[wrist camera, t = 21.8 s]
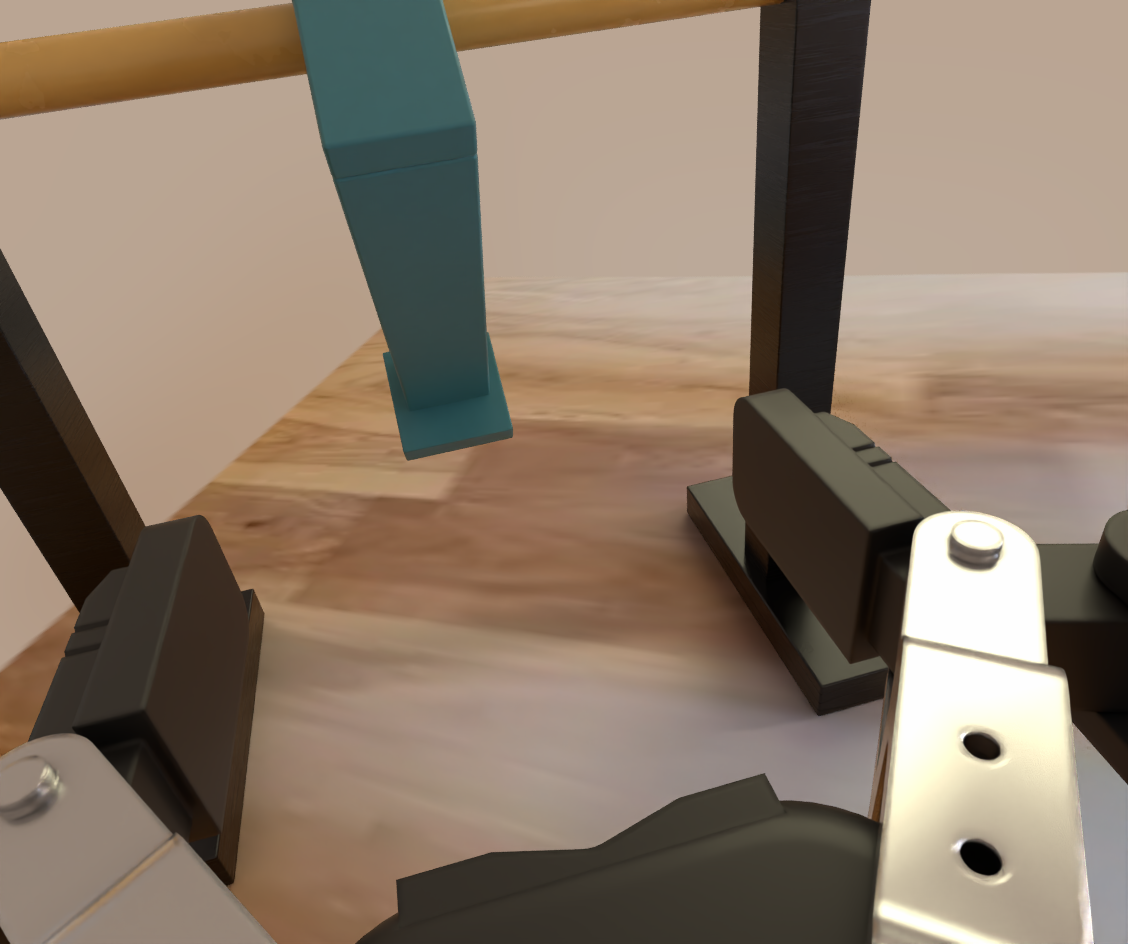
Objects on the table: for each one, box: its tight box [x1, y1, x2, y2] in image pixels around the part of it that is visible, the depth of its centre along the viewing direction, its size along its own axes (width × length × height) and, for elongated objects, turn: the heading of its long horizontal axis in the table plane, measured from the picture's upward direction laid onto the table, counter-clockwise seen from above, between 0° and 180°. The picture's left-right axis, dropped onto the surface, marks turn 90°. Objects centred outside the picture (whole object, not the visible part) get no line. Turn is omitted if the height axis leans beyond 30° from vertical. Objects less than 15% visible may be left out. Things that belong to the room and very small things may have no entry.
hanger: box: [292, 0, 513, 461], centre depth 23 cm, size 10×4×15 cm
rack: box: [0, 0, 889, 886], centre depth 23 cm, size 12×25×23 cm, turn 104°
